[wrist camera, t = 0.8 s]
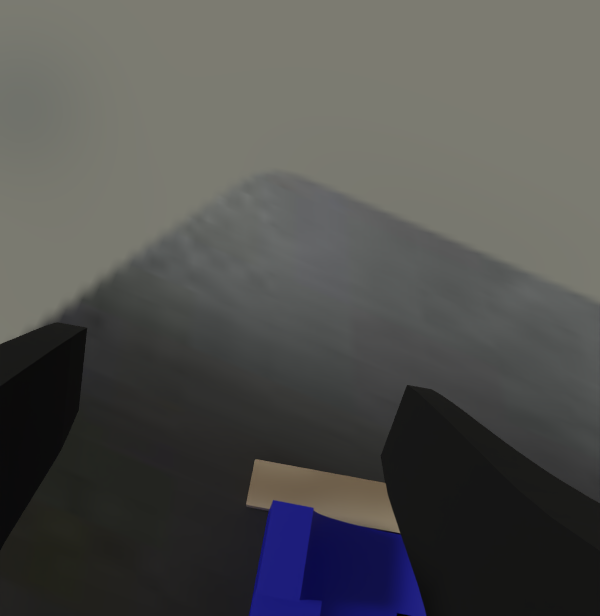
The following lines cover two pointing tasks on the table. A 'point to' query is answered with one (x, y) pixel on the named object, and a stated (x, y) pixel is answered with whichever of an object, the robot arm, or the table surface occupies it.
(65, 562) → the table surface
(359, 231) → the table surface
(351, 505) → the channel
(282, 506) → the blue stepped block
